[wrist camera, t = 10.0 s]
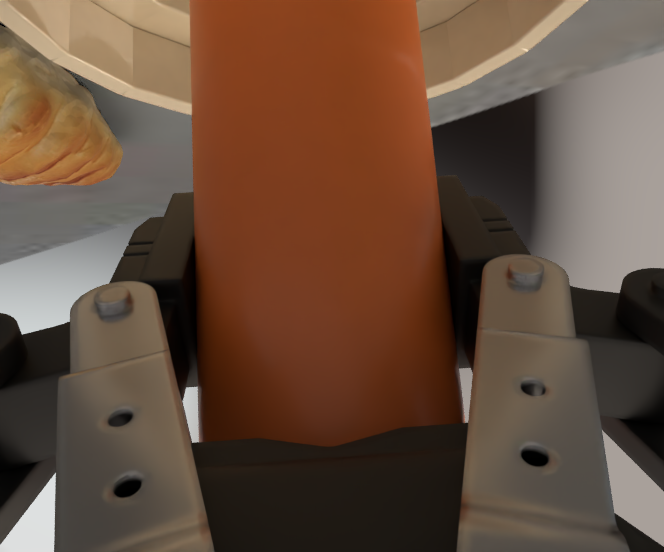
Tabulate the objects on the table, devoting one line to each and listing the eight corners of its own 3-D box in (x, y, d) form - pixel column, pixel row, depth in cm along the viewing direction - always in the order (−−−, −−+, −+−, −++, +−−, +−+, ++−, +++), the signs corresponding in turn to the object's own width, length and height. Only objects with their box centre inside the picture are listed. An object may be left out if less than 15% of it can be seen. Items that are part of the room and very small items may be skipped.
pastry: (163, 127, 27) (163, 209, 26) (40, 155, 29) (36, 232, 28) (-18, -5, 18) (-26, 113, 17) (-176, 49, 20) (-191, 157, 20)
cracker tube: (143, 19, 12) (145, 549, 10) (273, -144, 9) (318, 593, 7) (320, 85, 15) (351, 507, 13) (467, -20, 12) (543, 524, 10)
